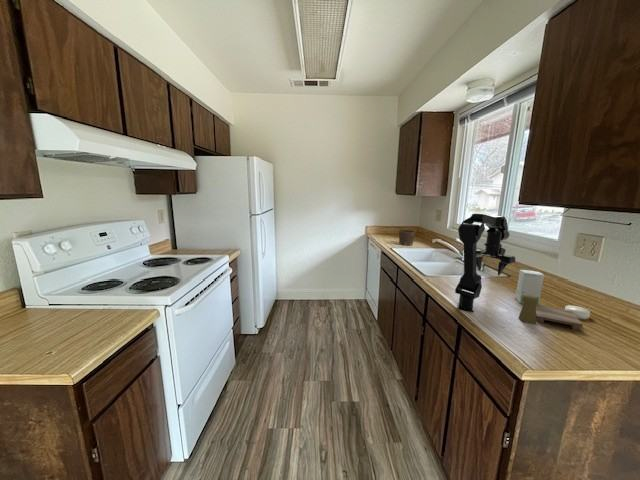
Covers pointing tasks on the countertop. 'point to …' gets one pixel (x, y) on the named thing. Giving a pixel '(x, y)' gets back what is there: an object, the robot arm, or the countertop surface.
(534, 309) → the olive pestle
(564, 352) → the countertop surface
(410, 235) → the plant pot
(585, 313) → the white rounded piece
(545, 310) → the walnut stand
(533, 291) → the skincare box
